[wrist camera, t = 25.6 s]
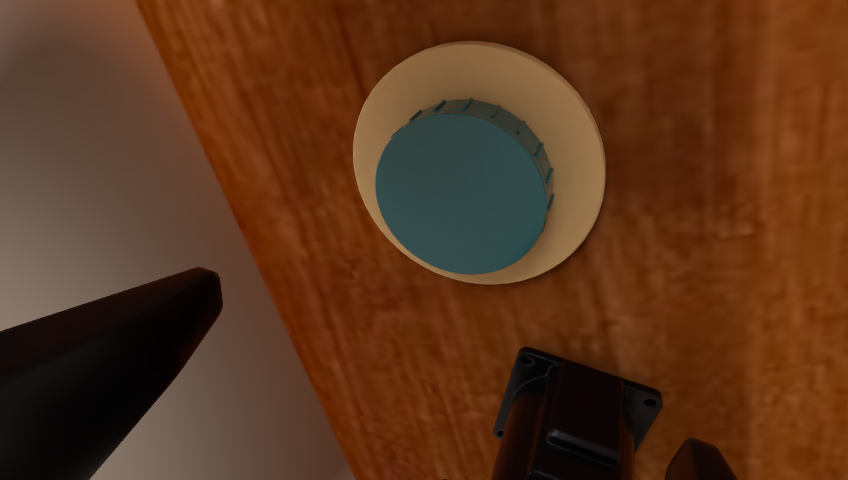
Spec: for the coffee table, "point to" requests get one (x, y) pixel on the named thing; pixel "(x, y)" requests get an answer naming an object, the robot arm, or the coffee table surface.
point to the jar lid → (465, 186)
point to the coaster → (521, 96)
